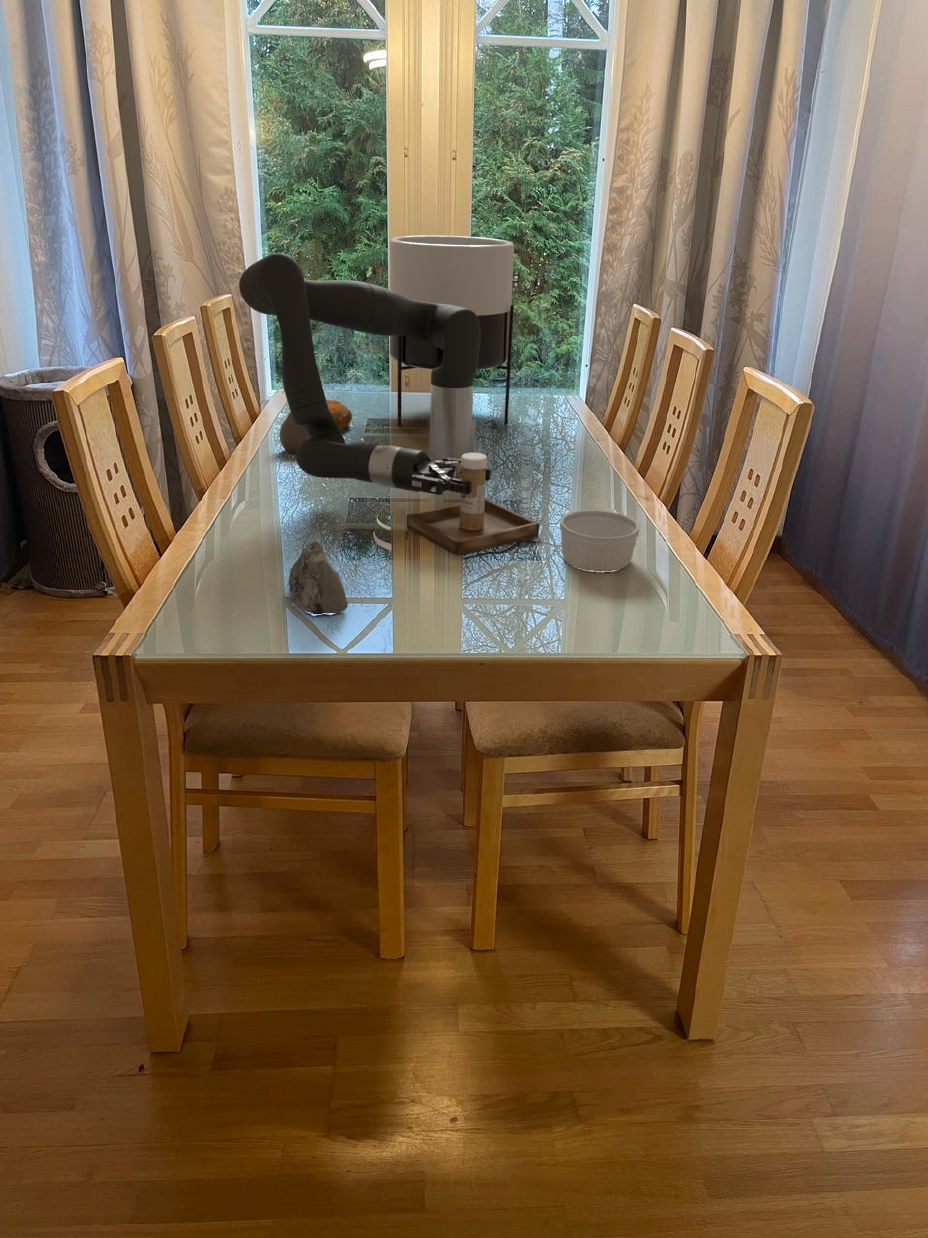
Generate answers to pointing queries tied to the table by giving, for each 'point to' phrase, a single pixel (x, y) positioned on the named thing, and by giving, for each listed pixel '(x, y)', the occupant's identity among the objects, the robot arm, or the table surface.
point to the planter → (455, 295)
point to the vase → (292, 435)
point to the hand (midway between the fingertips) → (480, 481)
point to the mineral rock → (316, 582)
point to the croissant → (339, 413)
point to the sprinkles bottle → (473, 491)
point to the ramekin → (598, 539)
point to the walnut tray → (496, 531)
